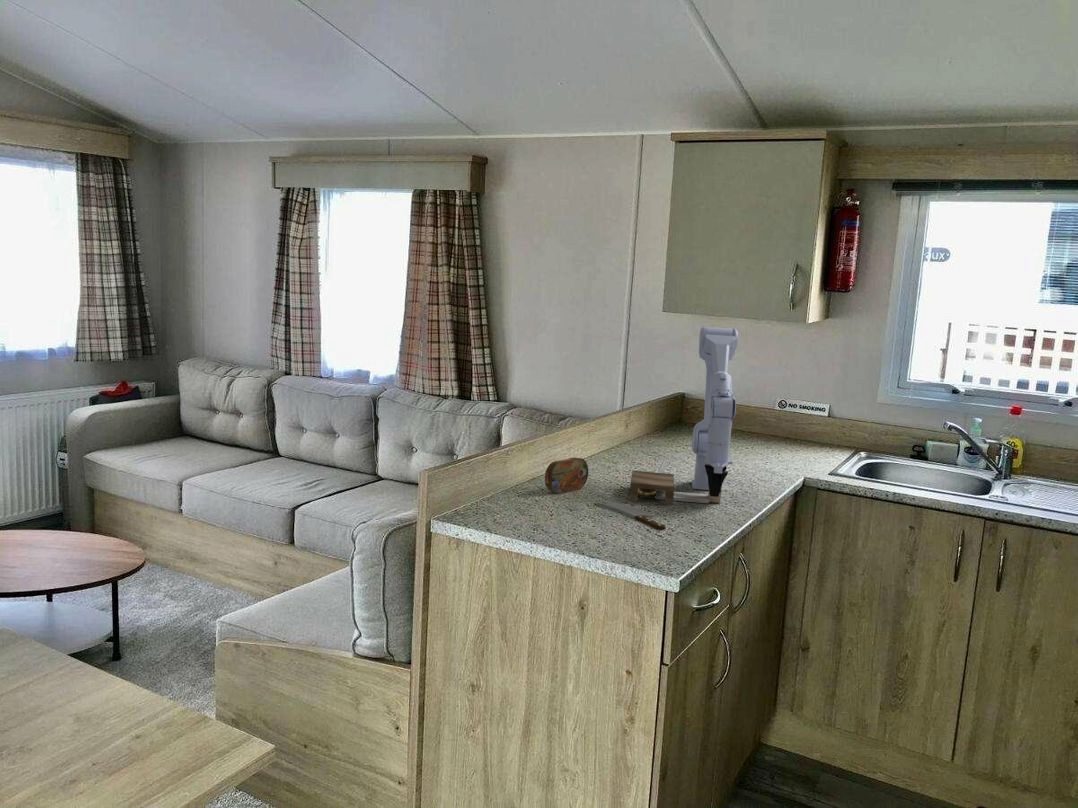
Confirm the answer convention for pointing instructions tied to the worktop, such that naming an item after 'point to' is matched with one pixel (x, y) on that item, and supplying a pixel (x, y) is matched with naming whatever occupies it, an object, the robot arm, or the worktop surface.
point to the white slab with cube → (690, 497)
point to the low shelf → (652, 484)
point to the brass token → (646, 493)
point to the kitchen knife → (631, 513)
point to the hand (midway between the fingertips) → (713, 494)
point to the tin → (566, 475)
